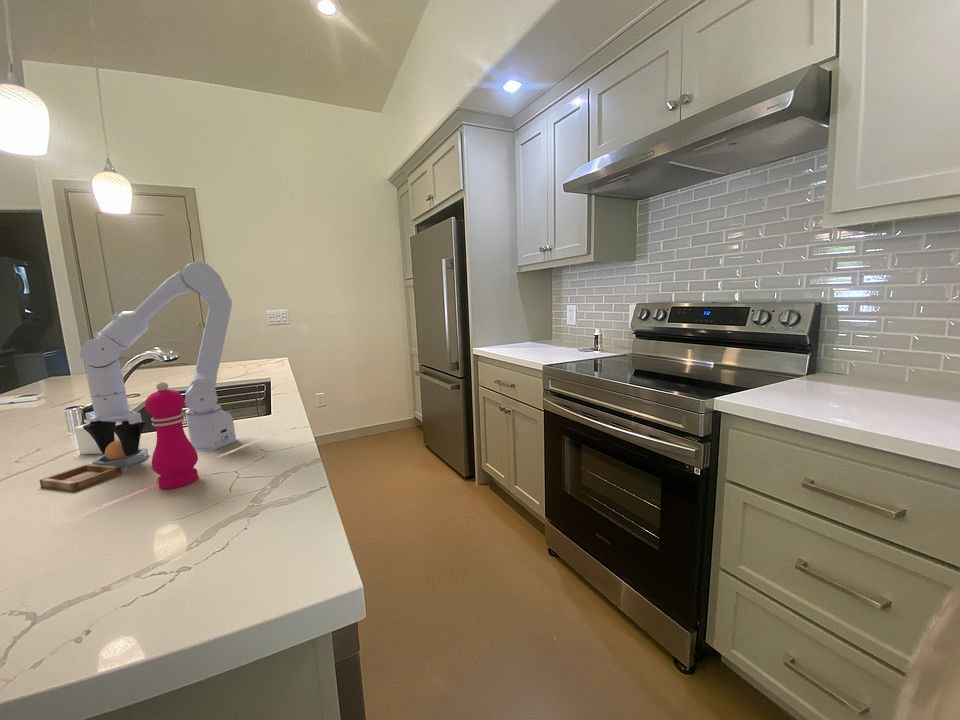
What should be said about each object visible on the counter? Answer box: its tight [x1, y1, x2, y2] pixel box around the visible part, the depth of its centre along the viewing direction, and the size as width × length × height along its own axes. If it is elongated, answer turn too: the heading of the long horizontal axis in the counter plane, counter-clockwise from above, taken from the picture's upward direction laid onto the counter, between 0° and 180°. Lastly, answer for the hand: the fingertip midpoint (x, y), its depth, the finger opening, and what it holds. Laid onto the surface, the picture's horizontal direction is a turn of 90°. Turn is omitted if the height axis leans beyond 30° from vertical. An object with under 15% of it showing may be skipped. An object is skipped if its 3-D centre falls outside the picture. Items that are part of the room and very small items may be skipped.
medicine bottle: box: [74, 403, 122, 455], centre depth 101 cm, size 7×7×12 cm
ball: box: [104, 440, 133, 461], centre depth 92 cm, size 5×5×5 cm
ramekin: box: [91, 447, 149, 468], centre depth 92 cm, size 9×9×2 cm
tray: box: [39, 463, 123, 493], centre depth 83 cm, size 10×8×2 cm
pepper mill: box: [144, 381, 199, 490], centre depth 79 cm, size 7×7×20 cm
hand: (120, 453), depth 92 cm, fingers open, 7 cm apart
